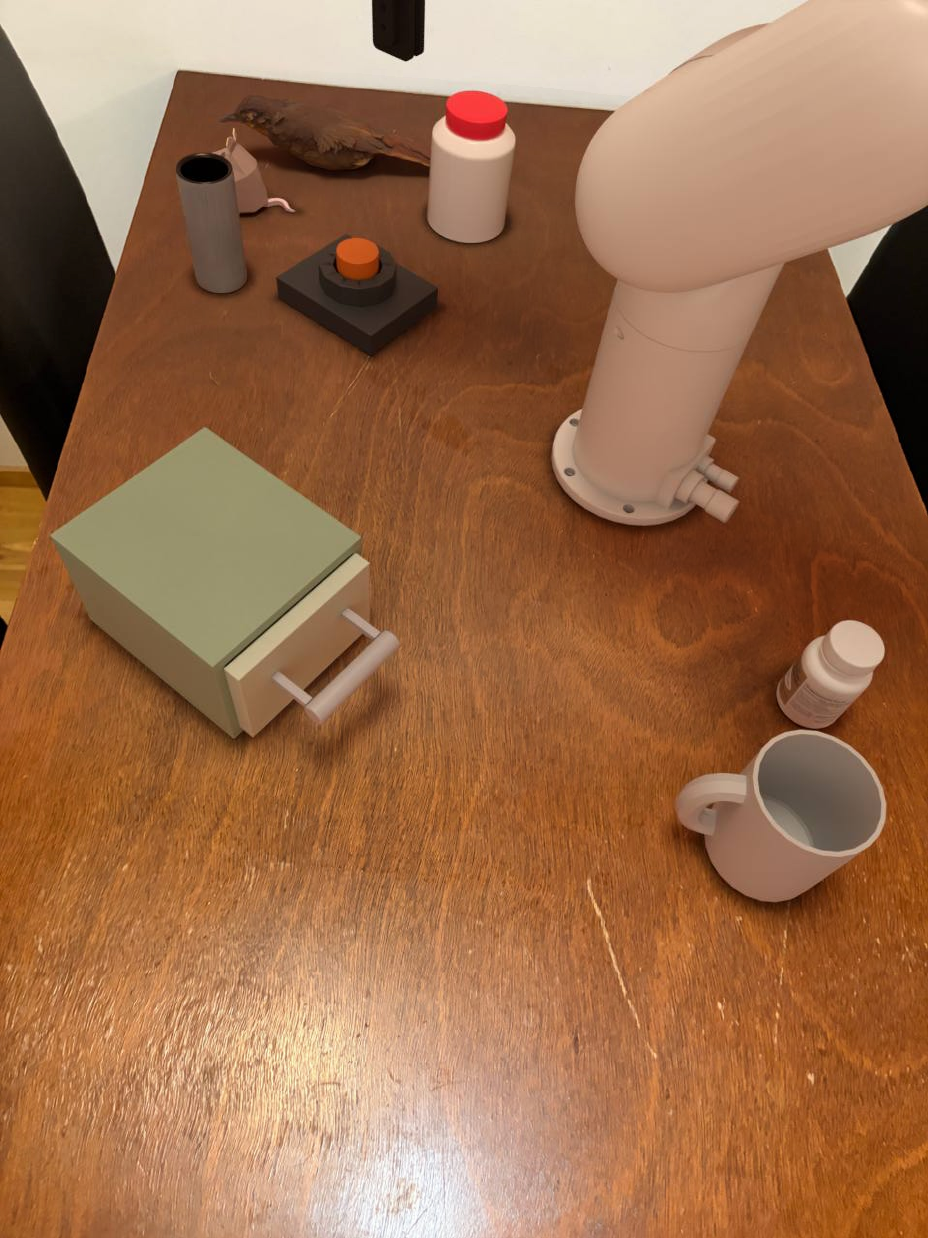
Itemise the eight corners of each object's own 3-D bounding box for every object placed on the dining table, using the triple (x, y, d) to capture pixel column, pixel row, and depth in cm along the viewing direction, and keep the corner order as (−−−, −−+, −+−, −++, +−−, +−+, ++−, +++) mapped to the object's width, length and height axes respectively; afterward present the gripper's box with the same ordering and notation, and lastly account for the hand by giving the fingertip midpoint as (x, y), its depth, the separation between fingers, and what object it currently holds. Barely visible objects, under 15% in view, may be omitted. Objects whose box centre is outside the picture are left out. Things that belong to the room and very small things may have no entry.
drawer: (417, 662, 59) (423, 600, 53) (302, 779, 54) (294, 725, 48) (238, 529, 64) (224, 458, 58) (117, 625, 59) (87, 559, 52)
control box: (437, 307, 80) (440, 269, 77) (371, 356, 76) (371, 317, 73) (346, 254, 83) (345, 214, 80) (278, 298, 79) (274, 258, 76)
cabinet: (363, 618, 62) (361, 536, 54) (234, 739, 56) (212, 667, 48) (224, 515, 65) (204, 426, 58) (90, 619, 60) (49, 534, 52)
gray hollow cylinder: (186, 284, 79) (163, 172, 71) (212, 256, 82) (194, 145, 73) (231, 299, 79) (214, 189, 70) (256, 271, 81) (243, 161, 72)
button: (387, 268, 77) (387, 250, 76) (359, 286, 75) (359, 268, 74) (356, 250, 78) (355, 232, 77) (328, 268, 76) (327, 249, 75)
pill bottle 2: (789, 662, 63) (837, 601, 56) (847, 696, 62) (903, 637, 55) (764, 706, 61) (811, 647, 54) (823, 742, 59) (878, 686, 53)
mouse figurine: (287, 227, 85) (281, 158, 79) (206, 212, 85) (194, 142, 80) (302, 196, 88) (297, 128, 82) (223, 182, 88) (213, 113, 82)
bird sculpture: (459, 211, 93) (471, 165, 89) (212, 157, 87) (213, 106, 83) (457, 177, 97) (468, 131, 93) (220, 123, 91) (221, 72, 87)
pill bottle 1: (518, 216, 89) (535, 104, 80) (478, 253, 85) (491, 139, 76) (454, 187, 91) (463, 74, 82) (411, 222, 87) (416, 107, 78)
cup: (818, 916, 53) (891, 870, 45) (653, 881, 53) (699, 829, 46) (814, 803, 57) (881, 744, 49) (660, 771, 57) (703, 707, 50)
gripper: (353, -310, 40) (366, 110, 55) (542, -347, 47) (508, 34, 62) (236, -343, 43) (279, 69, 58) (433, -374, 50) (425, 0, 65)
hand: (398, 50), depth 60 cm, fingers closed
